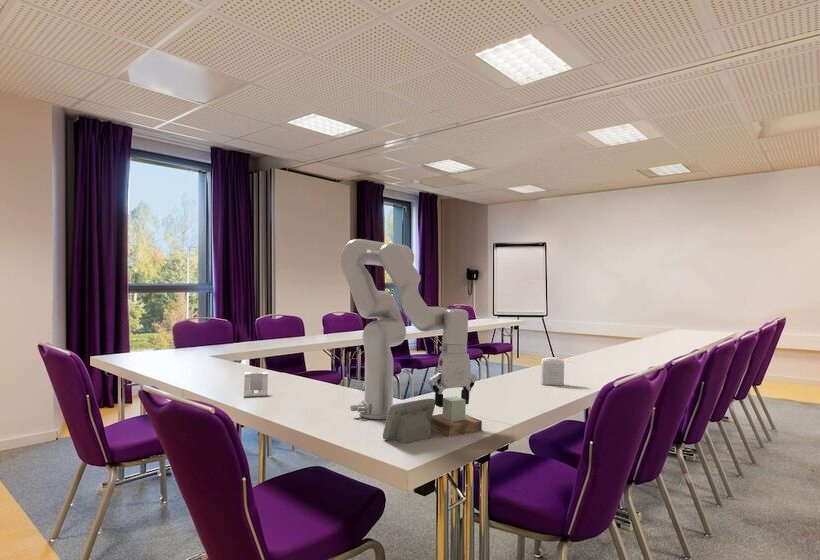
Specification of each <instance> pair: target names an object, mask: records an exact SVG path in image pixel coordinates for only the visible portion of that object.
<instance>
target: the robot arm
mask: <svg viewBox="0 0 820 560" xmlns="http://www.w3.org/2000/svg"><path fill="white" fill-rule="evenodd" d="M414 262H415V254H414V251H413V250H412V249H411V248H410V246H408V245H405V244H401V243H394V242H391V243H390V242H389V243H388V242H383V241H382V242H381V241H376V240H375V241H374V240H369V239H365V238H364V239H363V238H356V239H352V240H350V241H348V242H347V243H346V244H345V245H344V247H343V249H342V250H341V254H340V266H341V267H340V268H341V270H342V273H343V275H344V277H345V280H346V281H347V285H348V287H349V290H350V293H351V295H352V298H353V299H352V300H353V302H354V305H355V307H356V311H357V313H358V314H359V316H360V317H362V318H364V319H367V320H368V319H376V320H374V321H371V322H369V323H368V324H367V325H366V326H365V327H364V328H363V332H362V343H363V349H364V397H363V398H364V400H361V403H359V404H351V405H350V406H349V407H350V408H349V409H350V411H351V412H357V413H359V416H361V417H362V418H365V419H369V420H370V419H371V420H386V419H387V415H388V411H389V408H390V406H391V405H393V404H394V401H393V400H394V399H393V397H394V357H393V353H392V350H391V347H397V346H400V345H402V344H403V342H404V341H405V340H406V336H407V329H406V325H405V321H404V319H403V316H402V314H401V312H400V311H401V310H400V309H399V306H398V304H397V301H396V299H395V298H394V296H393V295H392V294H391V293H389V292H388V291H386V290H385V291H384V290H378V289H377V286H376V285H375V282H374V279H373V277H372V275H371V273H370V272H369V270H368V269H367V268H366V266H365V265H370V266H371V265H372V266H380V267H383V269H384V270H385V272H386V273H387V275H388V276H389V278H390V280H391V281H392V283H393V284H394V286H395V287H396V288H397V290H398V293H399V294H398V296H399V301H400V305H401V308H402V310H403V312H404V314H405V315H406V317H407V318H408V320H409V321H410V323H411V325H412V326H413V327H414V328H416V329H417V330H418V331H420V332H422V333H423V332H424V333H428V332H433V331H434V332H435V331H436V332H437V331H442V344H441V345H440V346H439V351H441V353H440V355H439V359H438V363H437V371H436V372H437V373H435V374H434V375H433V376H431V377H430V378H428V384H429V386H430V389H431V390H432V391H433V392H434V393H435V394H434V400H435V406H436V407H438V408H443V398H444V394H443V392H444V391H445V389H456V388H462V389H461V393H460V398H462V399H465V400H466V405H469V404H470V392H471V391H472V388H473V387H474V386H475V383H476V380H477V375H475V374H474V373H472V371H471V370H472V369H471V359H470V355H469V353H467V352H468V351H467V350H468V331H469V330H468V329H469V312H468V311H467V310H465V309H461V308H447V307H442V306H428V305H427V303H426V302H425V301H424V299H423V298H422V296H421V294H420V291H419V287H418V286H419V283H421V280H422V278H421V277H422V276H421V274H420V273H419V271H418V270H417V269H416V268H415V265H413V264H414Z"/></svg>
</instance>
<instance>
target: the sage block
mask: <svg viewBox="0 0 820 560" xmlns="http://www.w3.org/2000/svg"><path fill="white" fill-rule="evenodd" d="M466 405H467V404H466V400H465V399H462V398H461V397H458V396H457V395H456V396H449V397H448V396H447V397H443V407H442V414H443V417H442V418H445V419H447V420H449V421H451V422H453V421H459V420H465V414H466Z"/></svg>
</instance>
